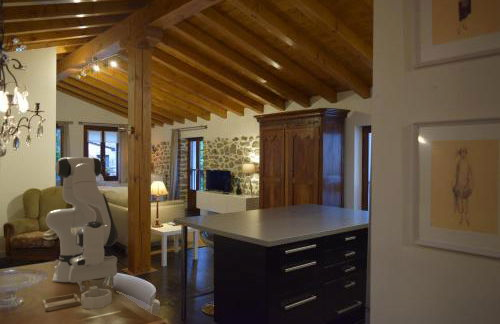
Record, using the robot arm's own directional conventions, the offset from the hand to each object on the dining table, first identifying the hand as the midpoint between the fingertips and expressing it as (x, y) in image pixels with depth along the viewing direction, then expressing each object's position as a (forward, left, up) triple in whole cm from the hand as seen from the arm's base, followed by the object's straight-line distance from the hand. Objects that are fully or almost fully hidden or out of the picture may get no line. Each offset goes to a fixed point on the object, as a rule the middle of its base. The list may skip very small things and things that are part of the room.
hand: (93, 288), depth 168 cm
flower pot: (-12, +5, -8) cm, 15 cm away
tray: (-8, -12, -7) cm, 16 cm away
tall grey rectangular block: (+2, +1, -7) cm, 7 cm away
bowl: (+1, +1, -7) cm, 7 cm away
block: (+1, 0, -3) cm, 3 cm away
